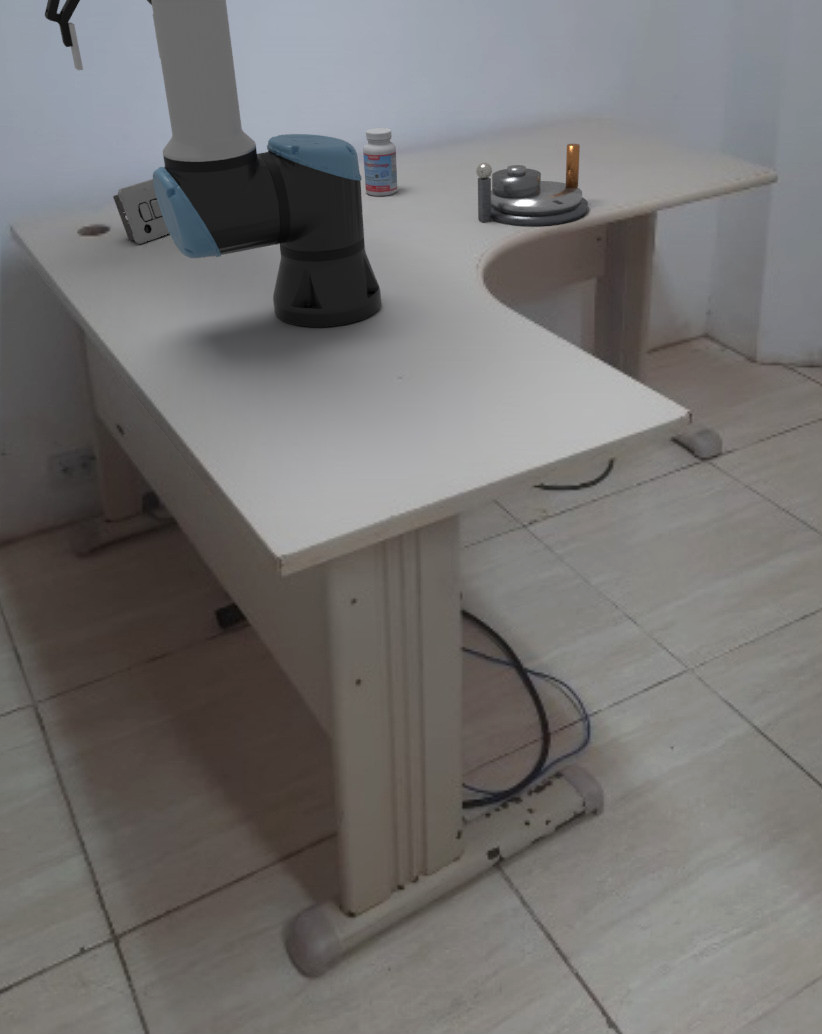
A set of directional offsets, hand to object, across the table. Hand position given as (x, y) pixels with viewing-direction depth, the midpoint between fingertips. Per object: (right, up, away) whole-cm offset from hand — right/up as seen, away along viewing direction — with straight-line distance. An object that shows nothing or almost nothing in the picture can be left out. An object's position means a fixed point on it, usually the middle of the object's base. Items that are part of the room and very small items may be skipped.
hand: (122, 64), depth 168 cm
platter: (+68, -17, +16) cm, 72 cm away
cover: (+64, -15, +16) cm, 68 cm away
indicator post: (+59, -21, +13) cm, 64 cm away
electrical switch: (+1, -24, +15) cm, 28 cm away
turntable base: (+68, -19, +17) cm, 72 cm away
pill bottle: (+40, -11, +32) cm, 52 cm away
